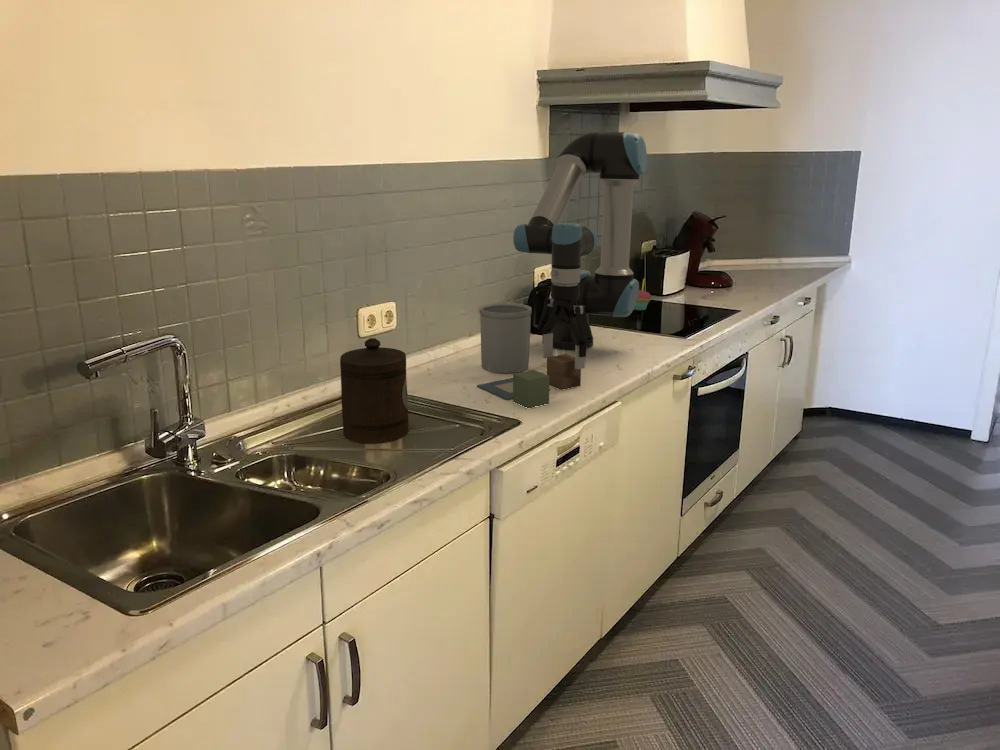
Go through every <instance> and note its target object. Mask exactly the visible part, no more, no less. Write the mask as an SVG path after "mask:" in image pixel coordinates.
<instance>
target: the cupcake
mask: <svg viewBox="0 0 1000 750" xmlns="http://www.w3.org/2000/svg"><path fill="white" fill-rule="evenodd" d="M645 281H646V277H645V276H644V277H643V279H642V283H641V284H642V285H641V286H642V287H641V289H639V293H638V298H637V302H636V305H635V307H634V310H633V311H646V309H647V307H648V305H649V303H650V301H652V295H651V294H650V293H649V292H648V291H646V290H644V289H645Z"/></svg>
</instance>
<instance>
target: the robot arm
mask: <svg viewBox="0 0 1000 750" xmlns="http://www.w3.org/2000/svg"><path fill="white" fill-rule="evenodd" d="M647 165H648V153H647V146H646V143H645V140H644V138H643V136H642V135H641V134H640V133H637V132H627V131H621V132H619V131H617V132H612V131H611V132H608V131H607V132H606V131H605V132H601V131H600V132H597V131H596V132H595V131H593V132H586V133H584V134H581V135H580V136H578V137H576V138H575V139H573V140H572V141H570V143H569V144H567V145H566V146H565V147H564V148H563V149H562V150H561V152H560V153H559V155H558V157H557V159H556V161H555V164H554V168H555V170H554V172H553V174H552V176H551V178H550V180H549V182H548V184H547V186H546V188H545V190H544V192H543V194H542V196H541V198H540V200H539V202H538V204H537V206H536V208H535V210H534V212H533V214H532V216H531V217H530V219H529V222H528V223H527V224H526V223H524V224H519V225H517V226H516V227H515V229H514V232H513V235H512V239H513V240H512V241H513V245H514V248H515V250H516V251H517V252H521V253H527V254H543V255H551V263H550V264H551V272H550V273H551V275H550V277H551V278H550V279H551V280H550V282H551V285H550V298H545V301H544V307H543V310H542V313H541V316H540V318H539V321H538V324H537V330H538V331H541V334H542V358H543V359H547V357H552V356H553V354H554V353H553V349H556V350H565V351H567V350H568V351H574V350H575V351H574V352H575V353H574V357H575V369H576V370H577V369H581V370H582V369H585V367H586V366H585V365H586V364H585V363H586V362H585V361H586V357H587V349H590V348H591V347H593V345H594V335H593V333H592V328H591V325H590V322H589V315H596V316H597V315H599V316H607V317H613V318H626V317H627V318H628V317H629V316H630V315H631V314H632V313H633V311H635V310H634V307H635V305H636V302H637V298H638V293H639V290H640V283H639V281H638V280H637V279H636V278H634V272H633V270H632V269H631V268H630V256H631V255H630V252H631V235H632V234H631V233H632V222H633V221H632V217H633V204H634V203H633V201H634V186H635V185H636V184H637V183H638V182H639V181H640V176H641V175H644V174H645V172H646V171H647ZM593 173H594V174H599V181H600V182H601V183H602V184H603V186H604V187H603V188H604V189H603V190H604V192H603V207H602V208H603V210H602V225H601V228H602V230H601V247H600V248H601V249H600V264H599V267H598V268H597V269H595V272H594V276H593V275H592V276H591V272H590V271H589V270H585V269H581V263H582V259H581V258H582V257H585V256H587V255H589V254H591V253H592V252H593V251H595V250H596V248H597V246H598V241H599V240H598V235H597V233H596V231H595V230H594V228H591V227H590V226H582V225H581V224H580V223H578V222H560V221H561V219H562V217H563V215H564V213H565V210H566V209H567V207H568V205H569V203H570V200H571V198H572V196H573V194H574V192H575V190H576V187H577V186H578V184H579V182H580V181H581V180H583V179H584V178H585V177H586V175H587V174H593Z"/></svg>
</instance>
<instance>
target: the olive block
mask: <svg viewBox="0 0 1000 750" xmlns="http://www.w3.org/2000/svg"><path fill="white" fill-rule="evenodd" d="M512 378H513V399H512V402H513V403H514V402H515V403H514V404H516V403H517V405H518V404H520V405H522V406H521V407H523V406H524V407H523V408H525V407H527V408H531V409H533V408H532V407H535V406H539V407H541V406H540V405H543V406H545V405H544V404H548V405H549V404H550V391H549V389H550V385H549V375H547V373H543V372H541V371H539V370H536V369H530V370H524V371H521V372H515V373H512ZM520 405H519V406H520ZM527 408H526V409H527ZM535 408H536V407H535Z"/></svg>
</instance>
